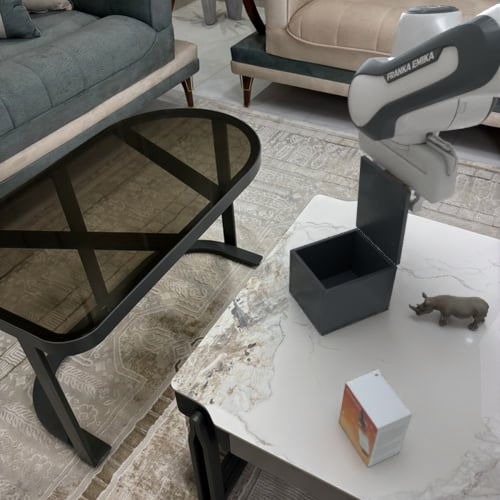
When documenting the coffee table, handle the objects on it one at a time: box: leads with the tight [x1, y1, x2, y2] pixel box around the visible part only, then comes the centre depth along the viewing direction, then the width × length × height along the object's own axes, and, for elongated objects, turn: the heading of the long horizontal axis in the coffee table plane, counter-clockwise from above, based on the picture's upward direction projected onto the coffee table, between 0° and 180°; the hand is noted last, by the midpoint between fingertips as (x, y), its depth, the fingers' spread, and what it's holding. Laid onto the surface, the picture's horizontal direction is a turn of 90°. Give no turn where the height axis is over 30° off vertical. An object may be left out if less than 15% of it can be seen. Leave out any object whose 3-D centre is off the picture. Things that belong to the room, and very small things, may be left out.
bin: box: [288, 227, 398, 337], centre depth 92 cm, size 14×12×11 cm
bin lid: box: [355, 155, 414, 267], centre depth 85 cm, size 15×12×5 cm
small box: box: [338, 368, 413, 468], centre depth 70 cm, size 8×6×10 cm
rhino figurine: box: [408, 291, 490, 331], centre depth 88 cm, size 4×14×6 cm, turn 79°
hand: (396, 196), depth 84 cm, fingers open, 7 cm apart
